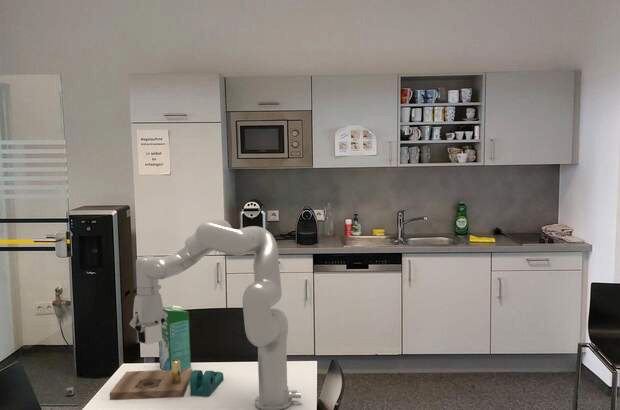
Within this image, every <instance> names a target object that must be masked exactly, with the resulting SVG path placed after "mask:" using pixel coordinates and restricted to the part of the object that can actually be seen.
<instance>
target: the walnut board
mask: <svg viewBox="0 0 620 410" xmlns="http://www.w3.org/2000/svg"><path fill="white" fill-rule="evenodd" d="M193 371H194V370H193V369H191V368H189V369H184V370H181V383H179V384H173V383H172V370H163V369H161V370H158V369H157V370H138V371H137V370H136V371H125V373H124V374H123V376H122V377H121V378H120V379H119V381H117V383H116V384H115V385H114V387H113V388H112V389H111V390H110V392H109V400H110V401H113V400H114V401H115V400H118V401H119V400H139V399H140V400H142V399H143V400H144V399H165V398H167V399H168V398H171V399H172V398H184V396H185V394H186V391H187V389H188V387H189V386H190V378H191V374H192V372H193Z"/></svg>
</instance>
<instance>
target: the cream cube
mask: <svg viewBox="0 0 620 410" xmlns="http://www.w3.org/2000/svg"><path fill="white" fill-rule="evenodd" d="M143 332H145V343H143V344H145V345H147V346H149V345H151V344H155V343H159V341H162V328H161V324H159V323H155V322H150V323H147V324H145V327H144V331H143ZM137 343H141V342H139V340H138V339H137ZM141 344H142V343H141Z"/></svg>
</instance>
